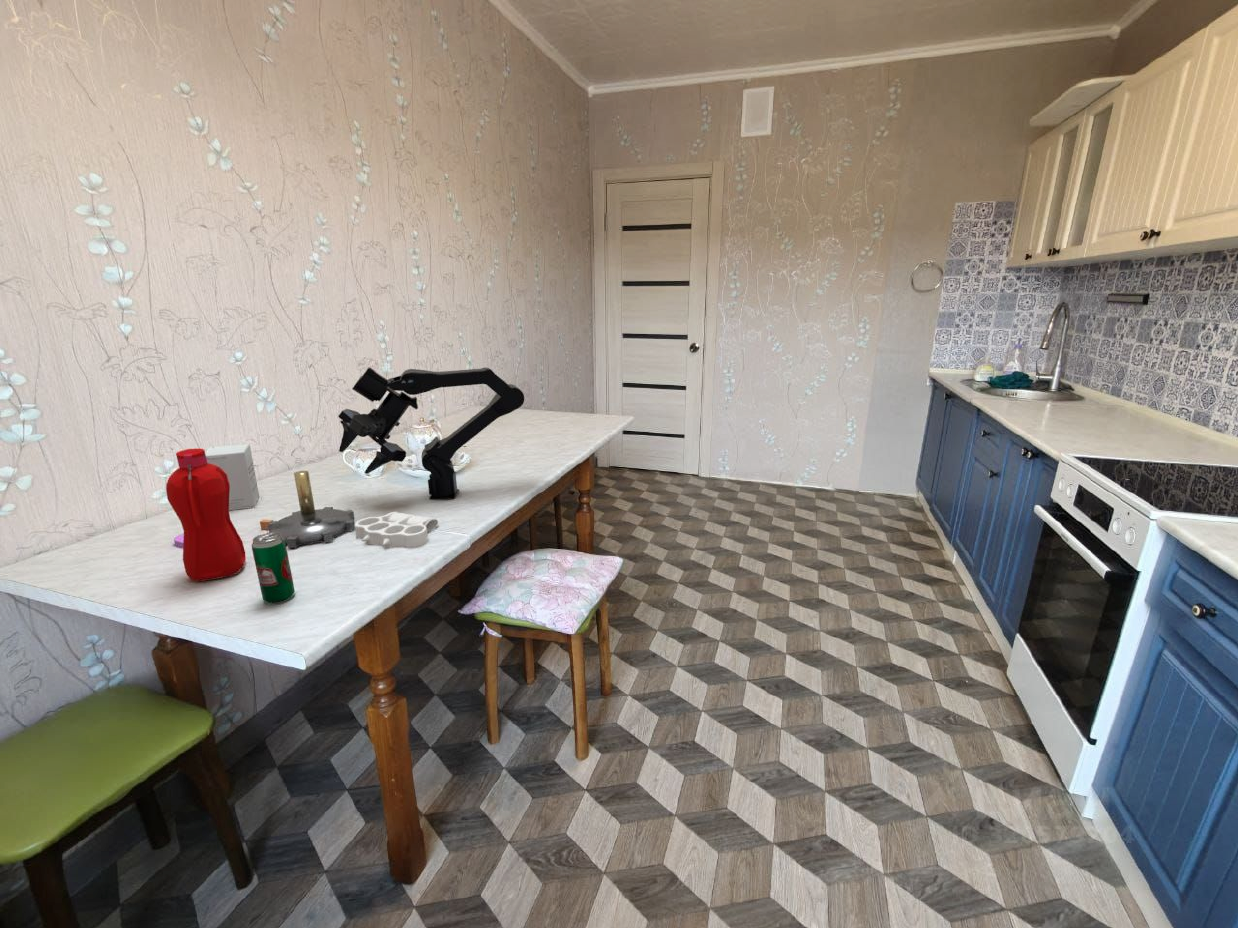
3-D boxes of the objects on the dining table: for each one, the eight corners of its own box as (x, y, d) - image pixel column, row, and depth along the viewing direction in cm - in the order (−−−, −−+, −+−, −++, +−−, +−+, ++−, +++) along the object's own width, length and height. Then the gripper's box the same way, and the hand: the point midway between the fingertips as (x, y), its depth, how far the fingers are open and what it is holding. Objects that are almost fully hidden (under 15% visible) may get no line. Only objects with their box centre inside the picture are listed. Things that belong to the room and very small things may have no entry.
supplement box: (213, 513, 142) (200, 455, 137) (220, 501, 149) (208, 446, 145) (255, 507, 145) (244, 451, 141) (260, 496, 153) (250, 442, 148)
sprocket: (368, 513, 140) (362, 467, 137) (336, 546, 122) (327, 494, 119) (291, 515, 139) (282, 468, 136) (247, 548, 122) (236, 496, 118)
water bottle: (181, 591, 105) (147, 462, 98) (196, 565, 115) (166, 446, 107) (239, 581, 109) (211, 456, 101) (249, 557, 118) (224, 441, 111)
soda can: (256, 601, 102) (243, 540, 98) (281, 588, 106) (269, 529, 103) (277, 607, 100) (264, 544, 96) (301, 593, 104) (290, 533, 101)
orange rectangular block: (274, 527, 133) (272, 520, 132) (270, 529, 132) (269, 522, 131) (265, 527, 133) (263, 519, 132) (261, 529, 132) (259, 521, 131)
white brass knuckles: (449, 530, 133) (406, 556, 119) (388, 519, 139) (341, 543, 126) (448, 516, 132) (405, 542, 118) (386, 506, 138) (338, 529, 125)
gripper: (343, 384, 137) (305, 436, 137) (398, 429, 133) (359, 482, 133) (370, 394, 147) (335, 442, 148) (422, 436, 144) (386, 485, 144)
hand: (353, 462), depth 143 cm, fingers open, 9 cm apart
